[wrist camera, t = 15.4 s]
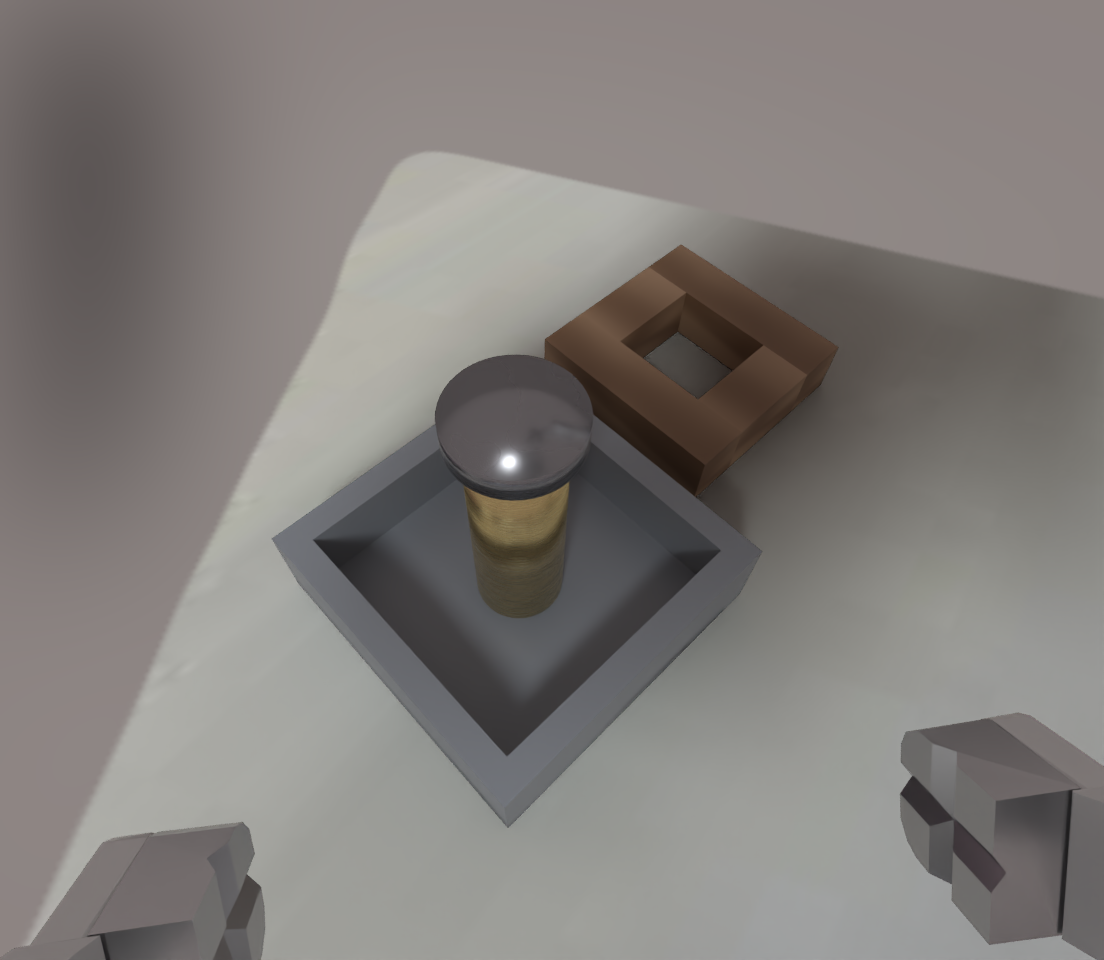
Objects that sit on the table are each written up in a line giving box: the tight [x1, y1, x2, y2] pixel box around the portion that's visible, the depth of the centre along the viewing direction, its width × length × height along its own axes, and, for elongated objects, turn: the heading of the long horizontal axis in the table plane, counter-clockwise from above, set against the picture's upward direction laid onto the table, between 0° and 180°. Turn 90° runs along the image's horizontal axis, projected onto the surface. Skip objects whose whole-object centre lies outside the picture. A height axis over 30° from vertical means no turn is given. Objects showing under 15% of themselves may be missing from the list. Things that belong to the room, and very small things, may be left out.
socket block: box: [545, 245, 838, 497], centre depth 34 cm, size 9×9×2 cm
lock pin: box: [435, 355, 593, 618], centre depth 25 cm, size 4×4×10 cm
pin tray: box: [272, 415, 762, 828], centre depth 28 cm, size 12×12×4 cm
